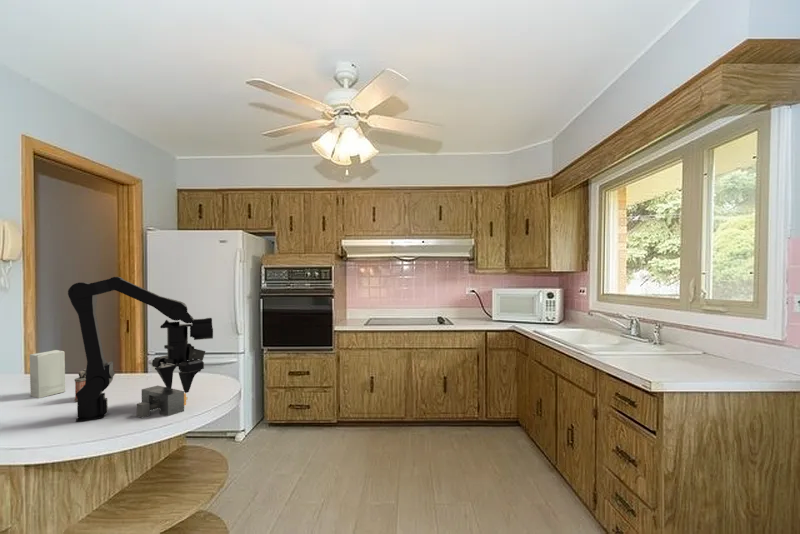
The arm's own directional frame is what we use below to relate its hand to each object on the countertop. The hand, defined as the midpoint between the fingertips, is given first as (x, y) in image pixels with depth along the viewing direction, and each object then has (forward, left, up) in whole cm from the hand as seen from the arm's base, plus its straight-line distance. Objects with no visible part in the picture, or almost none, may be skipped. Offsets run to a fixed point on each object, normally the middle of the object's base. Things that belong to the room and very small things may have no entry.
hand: (177, 390), depth 133 cm
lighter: (-26, +25, -5) cm, 37 cm away
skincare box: (-39, +39, -5) cm, 56 cm away
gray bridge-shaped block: (-4, -2, -5) cm, 7 cm away
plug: (-4, -2, -5) cm, 7 cm away
